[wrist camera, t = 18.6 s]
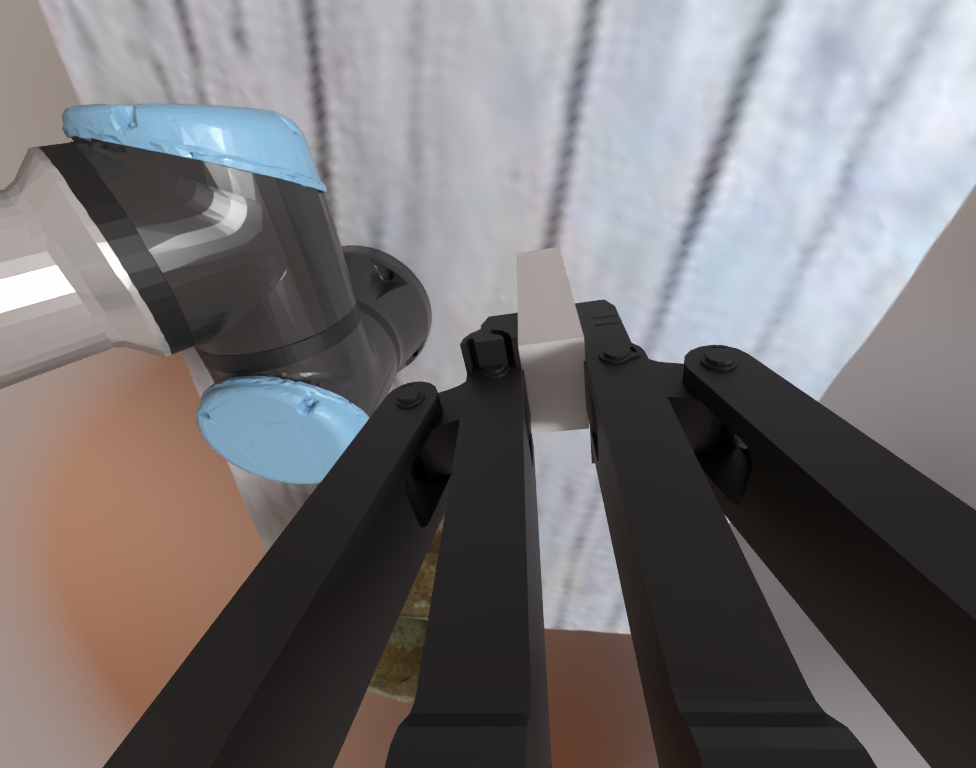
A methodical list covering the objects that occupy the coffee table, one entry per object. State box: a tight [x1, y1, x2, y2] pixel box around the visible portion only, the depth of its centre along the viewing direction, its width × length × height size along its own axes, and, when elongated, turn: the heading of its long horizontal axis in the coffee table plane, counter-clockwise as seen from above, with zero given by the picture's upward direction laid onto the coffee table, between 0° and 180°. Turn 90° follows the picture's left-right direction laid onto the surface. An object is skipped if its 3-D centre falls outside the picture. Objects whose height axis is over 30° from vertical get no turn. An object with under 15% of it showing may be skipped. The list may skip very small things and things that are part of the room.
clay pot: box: [367, 513, 445, 703], centre depth 57 cm, size 25×25×25 cm
